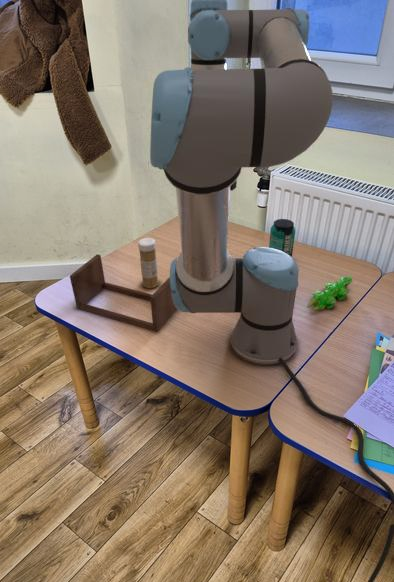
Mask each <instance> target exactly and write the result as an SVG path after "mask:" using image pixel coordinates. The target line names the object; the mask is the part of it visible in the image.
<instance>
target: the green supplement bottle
mask: <svg viewBox="0 0 394 582" xmlns="http://www.w3.org/2000/svg"><path fill="white" fill-rule="evenodd" d="M295 237H296V227H295V223H294V222H293V221H292V220H290V219H286V218H279V219H276V220H274V221H273V224H272V226H271V227H270V232H269V242H268V243H269V244H268V248H274V249H277V250H280V251H282V252H285V253H286V254H288V255H289V256H291V257H292V258H293V252H294V243H295Z"/></svg>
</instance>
